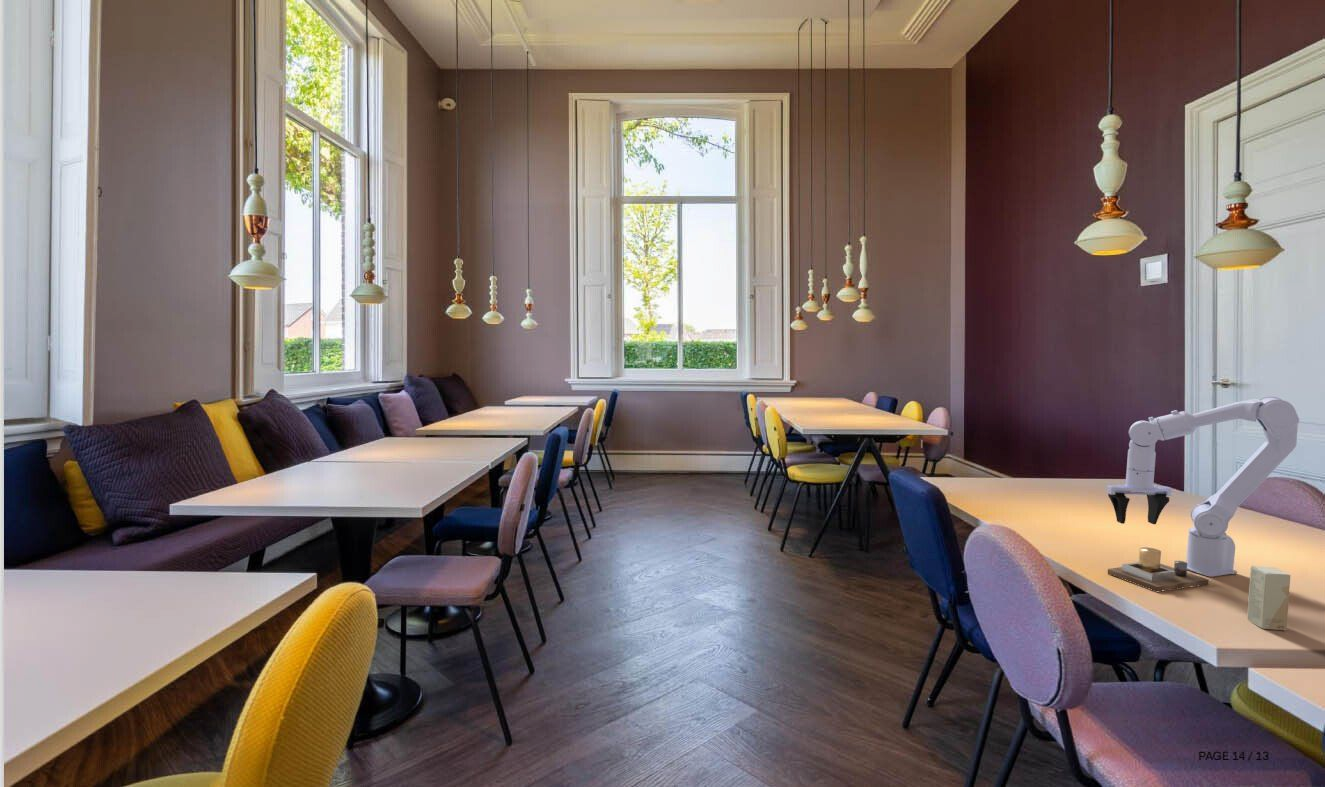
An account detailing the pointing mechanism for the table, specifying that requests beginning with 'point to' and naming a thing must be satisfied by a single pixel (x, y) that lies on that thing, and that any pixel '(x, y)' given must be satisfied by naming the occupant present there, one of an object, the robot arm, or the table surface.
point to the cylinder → (1149, 559)
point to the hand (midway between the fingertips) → (1136, 522)
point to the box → (1268, 597)
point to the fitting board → (1159, 576)
